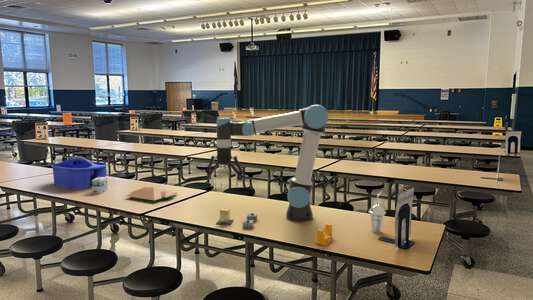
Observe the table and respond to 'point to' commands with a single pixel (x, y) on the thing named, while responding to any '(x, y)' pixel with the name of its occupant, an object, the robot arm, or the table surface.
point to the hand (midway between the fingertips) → (224, 186)
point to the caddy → (77, 172)
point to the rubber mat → (225, 223)
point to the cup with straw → (376, 216)
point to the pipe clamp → (324, 235)
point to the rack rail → (250, 221)
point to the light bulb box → (99, 185)
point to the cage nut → (224, 215)
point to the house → (151, 194)
